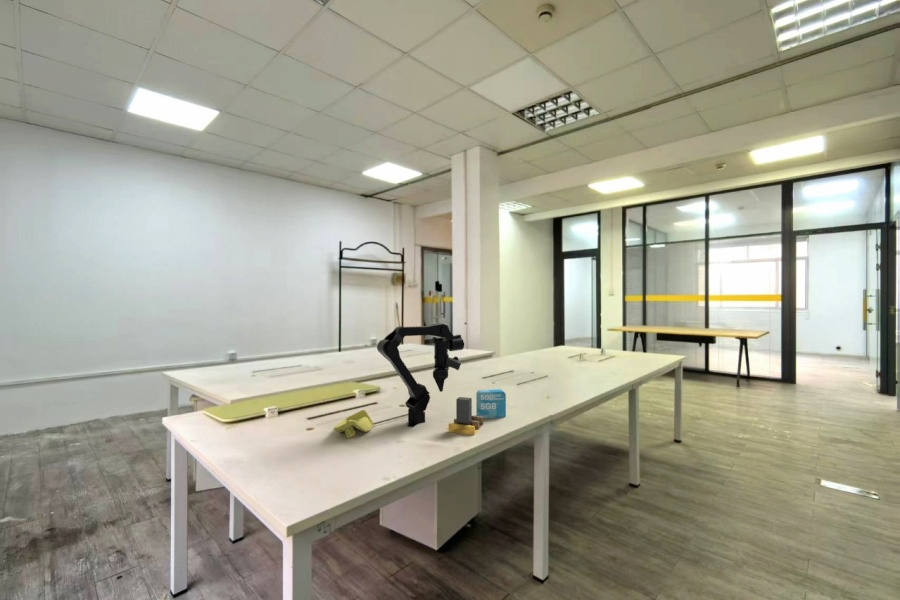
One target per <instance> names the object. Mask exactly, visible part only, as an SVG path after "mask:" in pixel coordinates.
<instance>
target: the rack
mask: <svg viewBox="0 0 900 600" xmlns="http://www.w3.org/2000/svg"><path fill="white" fill-rule="evenodd" d="M483 425H484V418H483V417H479V416H477V415H472V426H470V425H461V424H456V418H453V423H450V422H449V423H448V432H449V433H453V434H461V435H462V434H463V435H471V436H475V435H476V434H477V432H478V431H479V430H480V429H481V428H482V427H483Z"/></svg>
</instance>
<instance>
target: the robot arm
mask: <svg viewBox="0 0 900 600" xmlns="http://www.w3.org/2000/svg"><path fill="white" fill-rule="evenodd" d="M412 336H414V337H415V336H417V337H418V336H432V338H431V339H430V340H429V343H431V344H434V346H433V347H434V355H433V358H434V369H433V371H432V377H433V379H434V381H435V384H436V385H437V388H438V391H439V392H443V391H444V387H445V386H444V384H445V381H446V379H448V377H449V370H450V368H452V369H455V370H456V371H460V368H461V365H462V361H461V360H459V357H458V356H456V355H455V356H454V357H450V356H449V352H456V351H462V350H464V347H465V342H464V339H463V338H462V335H461V334H456V335H454V334H453V332H451V330H450V326H448V324H446V323H441V322H436V323H432V324H429V325H422V326H421V325H419V326H417V325H416V326H396V327H395V328H394V329H393V331H392V332H390V333H389V334H387V335H386V336H385V337H384V338H383V339H381V340H380V341H378V343H377V344H376V345H377V346H376V349H377V351H378V353H379V354H380V355H382V357H383V358H385V359H386V361H388V362H389V363H390V364H391V366H392V367H393V369H394V370H395V372H396V373H397V374H398V376H399V377H400V379H401V380H402V382H403V383H404V385H405V386H406V388H407V392H408V395H409V398H407V400H406V402H405V403H404V404H405V406H406V408H408V409H407V412H408V413H407V417H408V418H407V427H416V426H417V425H419V424H424V423H426V410H427V408H428V404H429V403H430V402H431V401H430V399H431V395H430V394H431V393H430V391H428V389H427V386H426V385H424V384H421V383H420V382H419V383H418V382H417V380H416V379H415V377H414V376H413V374H412V373H411V371H410V370H409V368H408V367H407V365H406V364H405V362H404V361H403V360H402V358H401V356H400V351H399V348H398V347H400V345H401V344H402V341H403V339H404V338H405V337H412ZM438 337H440V338H438Z"/></svg>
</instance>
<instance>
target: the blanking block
mask: <svg viewBox="0 0 900 600" xmlns="http://www.w3.org/2000/svg"><path fill="white" fill-rule="evenodd" d="M455 401H456V406H455V407H456V414H455V415H456V417H455V419H456V424H461V425H470V426H472V416H473V415H472V414H473V412H472V411H473V409H472V408H473V404H472V403H473V401H472V397H466V396H464V397H463V396H458V397H457V398H456V400H455Z"/></svg>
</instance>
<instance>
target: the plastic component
mask: <svg viewBox="0 0 900 600" xmlns="http://www.w3.org/2000/svg"><path fill="white" fill-rule="evenodd" d="M354 427H355V428H356V429H357V430H358V431H360V432H364V433H367V432H370V431H371V429H372V428H373V427H374V422H373V420H372V419H371V417H370V415H369V414H368V412H367V411H366V409H362V410H360V411H357V412H355V413H354V414H352V415H350V416H349V415H348V417H345V418H344V419H343V420H341V422H339V423H338V424H337V425H336V426H334V427H333V430H334V431H335V432H336V433H343V432H344V433H345V436H346V438H347V439H350V438H351V437H353V436H355V435H356V434H357V433H356V429H355V428H354Z"/></svg>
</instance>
